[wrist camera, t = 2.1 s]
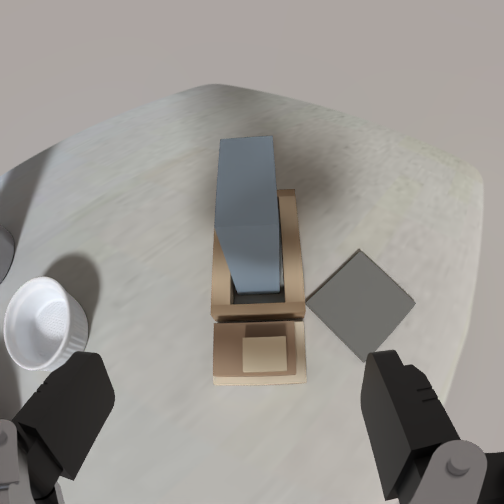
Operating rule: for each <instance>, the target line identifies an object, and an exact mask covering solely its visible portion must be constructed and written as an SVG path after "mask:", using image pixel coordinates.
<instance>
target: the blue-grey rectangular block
mask: <svg viewBox="0 0 504 504" xmlns="http://www.w3.org/2000/svg"><path fill="white" fill-rule="evenodd" d="M214 228H215V231H216V234H217V236H218V239H219V242H220V245H221V248H222V251H223V254H224V256H225V259H226V262H227V265H228V268H229V270H230V273H231V276H232V279H233V282H234V284H235V287H236V290H237V293H238V295H248V294H272V293H280V280H279V217H278V202H277V188H276V175H275V162H274V149H273V137H272V136H259V137H244V138H231V139H220V149H219V163H218V177H217V192H216V208H215V225H214Z"/></svg>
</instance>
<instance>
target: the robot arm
mask: <svg viewBox="0 0 504 504" xmlns="http://www.w3.org/2000/svg"><path fill="white" fill-rule="evenodd" d="M13 254H14V240H13V237H12V235H11V233H10V232H8V231H7V230H6V229H5V228H4V227H3V226H2V225H0V283H1V282H2V280H3V279H4V277H5V275H6V274H7V272H8V270H9V267H10V265H11V262H12V258H13ZM114 402H115V394H114V389H113V387H112V384H111V382H110V379H109V377H108V374H107V371H106V369H105V366H104V363H103V360H102V358H101V356H100V355H99V354H97V353H91V352H82V351H76V352H74V353H73V354H72V355H71V357H70V358H69V359H68V360H67V361H66V362H65V364H63V365H62V366H60V367H59V368H57V369H56V370H54V371H53V372H51V374H50V375H49V376H48V377H47V378H46V380H45V381H44V384H41V385H40V387H39V388H38V389H37V392H35V393H34V394H33V395H32V396H31V397H30V399H29V400H28V401H27V402H26V404H25V405H24V406H23V407H22V409H21V410H20V411H19V412H18V414H17V415H16V416H15V417H14V419H13V420H12V421H9V420H5V419H0V504H65V503H64V499H63V495H62V491H61V487H60V485H59V483H58V482H57V480H58V478H59V476H62V477H65V478H68V479H70V480H73V481H74V479H75V477H76V475H77V473H78V472H79V470H80V468H81V466H82V464H83V462H84V460H85V458H86V456H87V454H88V453H89V451H90V449H91V447H92V445H93V443H94V441H95V439H96V438H97V436H98V434H99V432H100V430H101V428H102V427H103V425H104V423H105V421H106V419H107V417H108V416H109V414H110V412H111V410H112V408H113V406H114ZM361 410H362V414H363V418H364V421H365V425H366V428H367V432H368V435H369V439H370V443H371V446H372V450H373V454H374V458H375V462H376V465H377V469H378V473H379V477H380V481H381V485H382V489H383V494H384V498H385V501H386V500H391V499H395V498H398V499H399V503H400V504H504V452H499V453H484V452H483V451H482V450H481V448H479V447H478V446H477V445H475V444H473V443H472V442H469V441H464V440H461V439H460V437H459V436H458V434H457V432H456V430H455V428H454V426H453V424H452V422H451V420H450V418H449V417H448V415H447V413H446V411H445V409H444V407H443V406H442V404H441V402H440V400H438V396H437V395H436V393H435V391H434V389H432V386H431V384H430V382H429V381H428V379H427V377H426V375H425V374H424V373H423V372H421V371H420V370H419V369H417V368H416V367H415V366H413V365H405V366H404V365H403V363H402V361H401V360H400V358H399V356H398V354H397V352H396V351H395V350H387V351H379V352H371V353H369V354H368V355H367V359H366V366H365V372H364V378H363V384H362V390H361Z"/></svg>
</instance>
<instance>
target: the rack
mask: <svg viewBox="0 0 504 504" xmlns="http://www.w3.org/2000/svg"><path fill="white" fill-rule="evenodd" d="M277 202H278V209H279V214H280V229H281V244H282V261H283V278H284V297H285V302H283V303H260V304H233V302H234V282H233V279H232V276H231V273H230V270H229V268H228V265H227V262H226V259H225V256H224V254H223V251H222V248H221V245H220V242H219V239H218V236H217V234H216V231H215V228H214V245H213V267H212V292H211V316H212V317H213V318H214V320H215V321H248V320H275V319H296V318H304V315H305V312H306V310H305V296H304V283H303V270H302V259H301V248H300V237H299V227H298V217H297V207H296V198H295V189H286V190H277ZM213 376H214V385H279V384H299V383H306V382H307V381H306V359H305V340H304V323H303V322H294V321H278V322H252V323H214V344H213Z"/></svg>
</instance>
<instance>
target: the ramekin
mask: <svg viewBox="0 0 504 504" xmlns="http://www.w3.org/2000/svg"><path fill="white" fill-rule="evenodd" d="M87 339H88V322H87V318H86V315H85V312H84V310H83V308H82V307H81V306H80V304H79V303H78V302H77V301H76V300H75V299H74V298H73V297H72V296H71V295H70V294H69V293H67V292H66V290H65V289H64V288H63V286H62V285H61V284H60V283H59V282H58V281H56V280H55V279H53V278H50V277H46V276H41V277H36V278H33V279H31V280H29V281H27V282H26V283H24V284H23V285H22V286H21V287H20V288H19V289H18V290H17V291H16V293H15V294H14V296H13V297H12V299H11V301H10V303H9V305H8V308H7V310H6V314H5V319H4V340H5V344H6V347H7V350H8V352H9V354H10V356H11V357H12V359H13V360H14V361H15V362H16V363H17V364H18V365H19V366H21V367H22V368H24V369H27V370H45V371H54V370H56V369H57V368H59V367H60V366H62V365H63V364H65V362H66V361H67V360H68V359H69V358H70V357H71V355H72V354H73V353H74V352H76V351H82V352H83V351H84V349H85V346H86V343H87Z"/></svg>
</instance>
